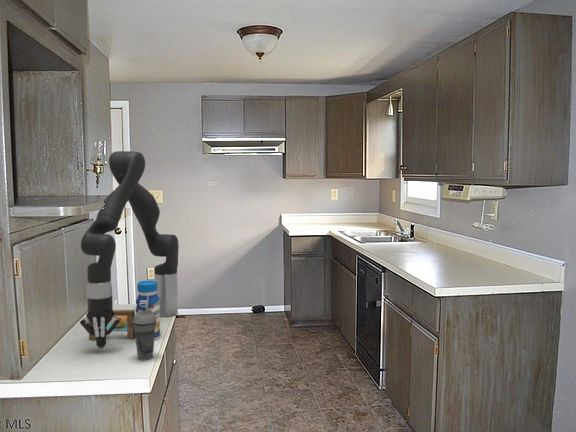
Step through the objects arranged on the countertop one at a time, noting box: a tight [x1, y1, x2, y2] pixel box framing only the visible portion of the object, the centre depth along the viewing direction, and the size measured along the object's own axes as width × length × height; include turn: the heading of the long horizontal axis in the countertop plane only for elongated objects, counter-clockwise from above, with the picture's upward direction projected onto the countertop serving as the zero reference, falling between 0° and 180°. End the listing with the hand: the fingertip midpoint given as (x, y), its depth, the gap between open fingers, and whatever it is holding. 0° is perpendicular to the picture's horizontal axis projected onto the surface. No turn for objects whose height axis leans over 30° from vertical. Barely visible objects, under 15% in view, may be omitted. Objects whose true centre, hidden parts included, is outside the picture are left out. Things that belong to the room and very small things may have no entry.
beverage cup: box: [133, 295, 157, 361], centre depth 151 cm, size 7×7×20 cm
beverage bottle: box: [134, 280, 161, 341], centre depth 170 cm, size 8×8×20 cm
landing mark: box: [107, 321, 127, 332], centre depth 184 cm, size 12×12×1 cm
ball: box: [110, 316, 127, 328], centre depth 182 cm, size 6×6×6 cm
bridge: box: [88, 309, 136, 341], centre depth 170 cm, size 3×15×10 cm, turn 95°
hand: (101, 347), depth 157 cm, fingers closed
